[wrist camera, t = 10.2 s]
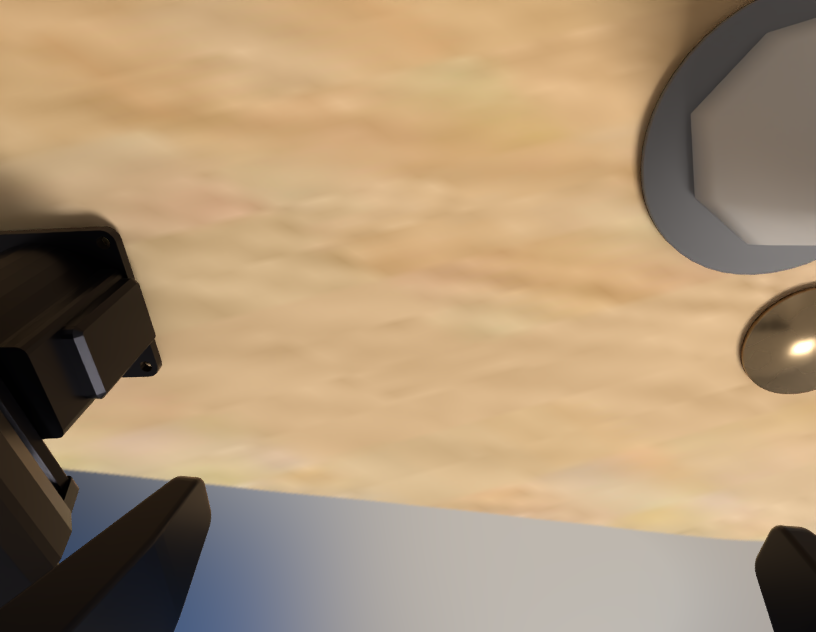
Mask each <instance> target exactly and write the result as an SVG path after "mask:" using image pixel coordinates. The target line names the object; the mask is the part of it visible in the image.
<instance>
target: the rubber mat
mask: <svg viewBox="0 0 816 632" xmlns="http://www.w3.org/2000/svg"><path fill="white" fill-rule="evenodd" d="M814 18H816V0H755V1H753V2H752V3H750V4H748V5H746V6H744V7H743V8H741V9H740V10H738V11H737V12H735V13H734V14H733V15H731V16H730V17H728V18H727V19H725V20H724V21H723V22H721V23H720V24H719V25H718V26H717V27H716V28H714V29H713V30H712V31H711V32H710V33H709V34H708V35H706V36H705V37H704V38H703V39H702V40H701V41H700V42H699V44H698V45H697V46H696V47H695V48H694V49H693V50H692V51H691V52H690V53H689V54H688V55H687V57H686V58H685V59H684V61H683V62H682V63H681V65H680V66H679V67H678V68H677V70H676V71H675V72H674V74H673V75H672V77H671V79H670V80H669V82H668V84H667V85H666V87H665V89H664V90H663V92H662V94H661V96H660V98H659V100H658V102H657V104H656V107H655V109H654V111H653V113H652V116H651V119H650V122H649V125H648V128H647V131H646V135H645V140H644V145H643V149H642V160H641V183H642V190H643V195H644V200H645V204H646V206H647V209H648V212H649V215H650V217H651V219H652V221H653V222H654V224H655V226H656V228H657V229H658V231H659V232H660V233H661V235H662V236H663V237H664V238H665V240H666V241H667V242H668V243H669V244H671V245H672V246H673V247H674V248H675V249H676V250H677V251H678V252H679V253H681V254H682V255H684V256H685V257H687V258H688V259H690V260H691V261H693V262H695V263H697V264H700V265H702V266H704V267H706V268H709V269H713V270H716V271H720V272H725V273H732V274H748V275H755V274H766V273H774V272H778V271H783V270H788V269H792V268H795V267H798V266H801V265H804V264H807V263H810V262H812V261H815V260H816V245H749V244H746V243H745V242H744V241H743V240H742V239H741V238H739V237H738V236H737V235H736V234H735V233H734V232H733V231H732V230H730V229H729V228H728V227H727V226H726V225H725V224H724V223H723V222H721V221H720V220H719V219H718V218H717V217H716V216H715V215H714V214H712V213H711V212H710V211H709V210H708V209H707V208H706V207H705V206H703V205H702V204H701V203H700V202H699V201H698V200H697V199H696V198H695V193H694V172H693V152H692V132H691V113H692V112H693V111H694V110H695V109H696V108H697V107H698V105H699V104H700V103H701V102H702V101H703V100H704V99H705V98H706V97H707V96H708V95H709V94H710V93H711V92H712V91H713V90H714V88H715V87H716V86H717V85H718V84H719V83H720V82H721V81H722V80H723V79H724V78H725V77H726V76H727V75H728V74H729V73H730V71H731V70H732V69H733V68H734V67H735V66H736V65H737V64H738V63H739V62H740V61H741V60H742V59H743V58H744V57H745V56H746V54H747V53H748V52H749V51H750V50H751V49H752V48H753V47H754V46H755V45H756V44H757V43H758V42H759V41H760V40H761V39H762V37H763V36H764V35H765V34H766V33H768V32H771V31H775V30H778V29H781V28H784V27H788V26H791V25H794V24H797V23H801V22H804V21H807V20H810V19H814Z"/></svg>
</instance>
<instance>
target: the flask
mask: <svg viewBox="0 0 816 632" xmlns="http://www.w3.org/2000/svg"><path fill="white" fill-rule="evenodd" d="M691 132H692V152H693V172H694V193H695V198H696V199H697V200H698V201H699V202H700V203H701V204H702V205H703V206H705V207H706V208H707V209H708V210H709V211H710V212H711V213H712V214H714V215H715V216H716V217H717V218H718V219H719V220H720V221H721V222H723V223H724V224H725V225H726V226H727V227H728V228H729V229H730V230H732V231H733V232H734V233H735V234H736V235H737V236H738V237H739V238H741V239H742V240H743V241H744V242H745V243H746V244H749V245H816V18H814V19H810V20H807V21H804V22H801V23H797V24H794V25H791V26H788V27H784V28H781V29H778V30H775V31H771V32H768V33H766V34H765V35H764V36H763V37H762V39H761V40H760V41H759V42H758V43H757V44H756V45H755V46H754V47H753V48H752V49H751V50H750V51H749V52H748V53H747V54H746V56H745V57H744V58H743V59H742V60H741V61H740V62H739V63H738V64H737V65H736V66H735V67H734V68H733V69H732V70H731V71H730V73H729V74H728V75H727V76H726V77H725V78H724V79H723V80H722V81H721V82H720V83H719V84H718V85H717V86H716V87H715V88H714V90H713V91H712V92H711V93H710V94H709V95H708V96H707V97H706V98H705V99H704V100H703V101H702V102H701V103H700V104H699V105H698V107H697V108H696V109H695V110H694V111H693V112H692V113H691Z"/></svg>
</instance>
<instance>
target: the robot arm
mask: <svg viewBox="0 0 816 632" xmlns="http://www.w3.org/2000/svg"><path fill="white" fill-rule="evenodd" d="M102 237H105V238H106V239H108V241H109V242H110V245H106V244H105V243H104V242H103V240H102ZM155 336H156V335H155V332H154V329H153V326H152V322H151V319H150V316H149V313H148V310H147V307H146V304H145V301H144V298H143V295H142V292H141V289H140V286H139V283H138V282H137V281H136V280H135V278H134V275H133V272H132V269H131V266H130V263H129V260H128V257H127V254H126V251H125V248H124V245H123V242H122V239H121V237H120V235H119V233H118V232H116V231H115V230H114V229H112V228H110V227H85V228H63V229H42V230H20V231H0V632H174V630H175V627H176V625H177V623H178V620H179V617H180V615H181V612H182V609H183V606H184V603H185V600H186V597H187V594H188V591H189V588H190V585H191V582H192V579H193V576H194V572H195V570H196V566H197V563H198V560H199V557H200V554H201V551H202V548H203V545H204V542H205V539H206V536H207V533H208V530H209V527H210V522H211V509H210V505H209V501H208V496H207V492H206V488H205V484H204V481H203V480H202V479H201V478H198V477H186V476H178V477H176V478H173V479H172V480H170V481H169V482H168V483H166V484H165V485H164V486H163V487H161V488H160V489H159V490H157V491H156V492H155V493H153V494H152V495H151V496H149V497H148V498H146V499H145V500H144V501H142V502H141V503H140V504H139V505H137V506H136V507H135V508H133V509H132V510H131V511H129V512H128V513H126V514H125V515H124V516H122V517H121V518H120V519H119V520H117V521H116V522H114V523H113V524H112V525H110V526H109V527H108V528H106V529H105V530H104V531H102V532H101V533H100V534H98V535H97V536H96V537H94V538H93V539H92V540H90V541H89V542H88V543H87V544H85V545H84V546H82V547H81V548H80V549H78V550H77V551H76V552H74V553H73V554H72V555H70V556H69V557H68V558H66V559H65V560H64V561H62V562H61V563H60V564H59V561H60V559H61V557H62V555H63V552H64V550H65V547H66V545H67V542H68V540H69V537H70V535H71V532H72V523H71V513H72V510H73V507H74V503H75V500H76V497H77V494H78V490H79V488H78V486H77V484H76V483H75V481H74V480H73V478H72V477H71V476H66V474H65V473H64V471H63V470H62V468H61V467H60V465H59V464H58V462H57V461H56V459H55V458H54V456H53V455H52V453H51V452H50V450H49V449H48V447H47V446H46V444H45V443H44V441H43V440H44V439H48V438H60V437H62V436H63V435H64V434H65V433H66V432H67V431H68V429H69V428H70V427H71V426H72V425H73V424H74V423H75V422H76V420H77V419H78V418H79V417H80V416H81V415H82V414H83V412H84V411H85V410H86V409H87V408H88V407H89V406H90V405H91V403H92V402H93V401H94V400H95V399H102V398H104V397H105V396H106V395H107V393H108V392H109V391H110V390H111V389H112V388H113V386H114V385H115V384H116V383H117V382H118V381H119V379H120V378H121V377H149V376H154V375H155V374H156V373H157V372H158V371H159V369H160V368H161V366H162V361H161V358H160V355H159V351H158V348H157V345H156V342H155V339H154V338H155ZM145 362H148V363H150V364H151V366H148V365H146V364H145ZM755 572H756V576H757V579H758V583H759V586H760V589H761V592H762V595H763V598H764V602H765V605H766V608H767V611H768V614H769V618H770V621H771V624H772V627H773V630H774V632H816V535H815V534H814V533H812V532H811V531H809V530H807V529H805V528H802V527H795V526H782V525H778V526H775V527H774V528H772V529H771V531H770V533H769V534H768V536H767V538H766V540H765V542H764V544H763V546H762V548H761V550H760V552H759V554H758V555H757V558H756V561H755Z"/></svg>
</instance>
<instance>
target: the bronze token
mask: <svg viewBox="0 0 816 632" xmlns="http://www.w3.org/2000/svg"><path fill="white" fill-rule="evenodd" d="M741 361H742V365H743V368H744V370H745V372H746V374H747V375H748V376H749V378H750V379H751V380H752V381H753V382H754V383H755V384H757V385H758V386H760V387H761V388H763V389H765V390H768V391H771V392H774V393H780V394H798V393H804V392H809V391H813V390H816V287H813V288H808V289H804V290H801V291H798V292H795V293H793V294H791V295H788V296H786V297H785V298H783V299H781V300H779V301H778V302H776V303H775V304H773V305H772V306H770V307H769V308H768V309H767V310H765V311H764V312H763V313H762V314H761V315H760V316H759V317H758V318H757V319H756V321H755V322H754V323H753V324H752V326H751V327H750V329H749V330H748V332H747V334H746V336H745V339H744V341H743V344H742V349H741Z"/></svg>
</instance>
